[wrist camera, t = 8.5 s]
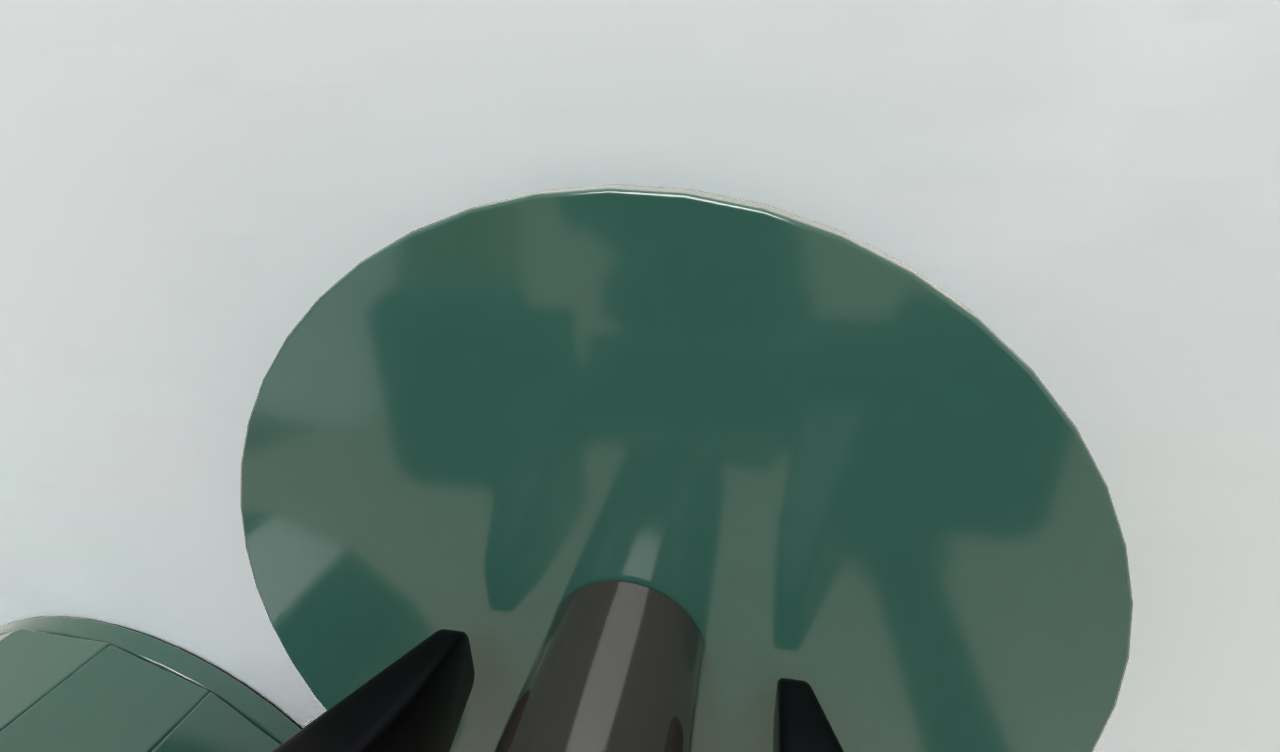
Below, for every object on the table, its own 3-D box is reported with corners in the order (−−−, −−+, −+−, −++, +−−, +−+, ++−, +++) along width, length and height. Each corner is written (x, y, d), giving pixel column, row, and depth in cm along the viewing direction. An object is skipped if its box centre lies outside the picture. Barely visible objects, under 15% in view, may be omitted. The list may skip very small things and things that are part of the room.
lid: (1236, 174, 7) (2817, 363, 1) (991, 906, 12) (1158, 1504, 7) (192, 184, 9) (-535, 264, 4) (367, 781, 14) (144, 1144, 9)
